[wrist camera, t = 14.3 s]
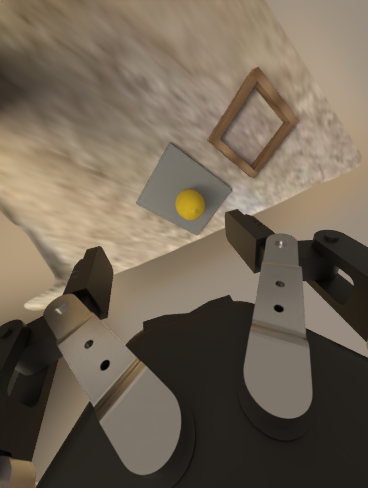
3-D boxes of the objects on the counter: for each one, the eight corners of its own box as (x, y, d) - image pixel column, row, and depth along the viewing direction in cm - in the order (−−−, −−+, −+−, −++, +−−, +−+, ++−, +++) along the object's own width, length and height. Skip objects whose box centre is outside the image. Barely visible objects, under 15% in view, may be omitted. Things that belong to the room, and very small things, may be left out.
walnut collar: (207, 140, 35) (210, 141, 34) (251, 70, 31) (258, 67, 29) (249, 176, 41) (254, 178, 39) (291, 120, 37) (298, 120, 35)
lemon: (192, 213, 42) (203, 229, 35) (168, 206, 39) (175, 222, 33) (201, 189, 39) (215, 202, 33) (177, 180, 37) (187, 193, 31)
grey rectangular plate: (136, 202, 38) (136, 203, 38) (169, 142, 34) (170, 143, 33) (196, 233, 46) (197, 235, 45) (229, 188, 41) (231, 189, 41)
